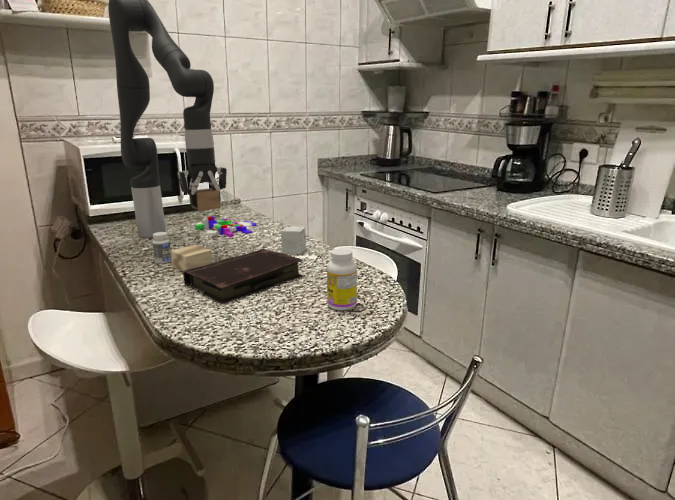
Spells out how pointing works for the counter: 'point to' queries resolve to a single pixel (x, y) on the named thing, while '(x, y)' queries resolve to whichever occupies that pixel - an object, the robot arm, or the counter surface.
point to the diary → (242, 274)
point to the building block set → (224, 226)
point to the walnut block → (207, 199)
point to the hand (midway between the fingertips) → (205, 205)
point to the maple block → (191, 257)
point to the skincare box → (293, 240)
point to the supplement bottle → (341, 280)
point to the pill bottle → (161, 247)
